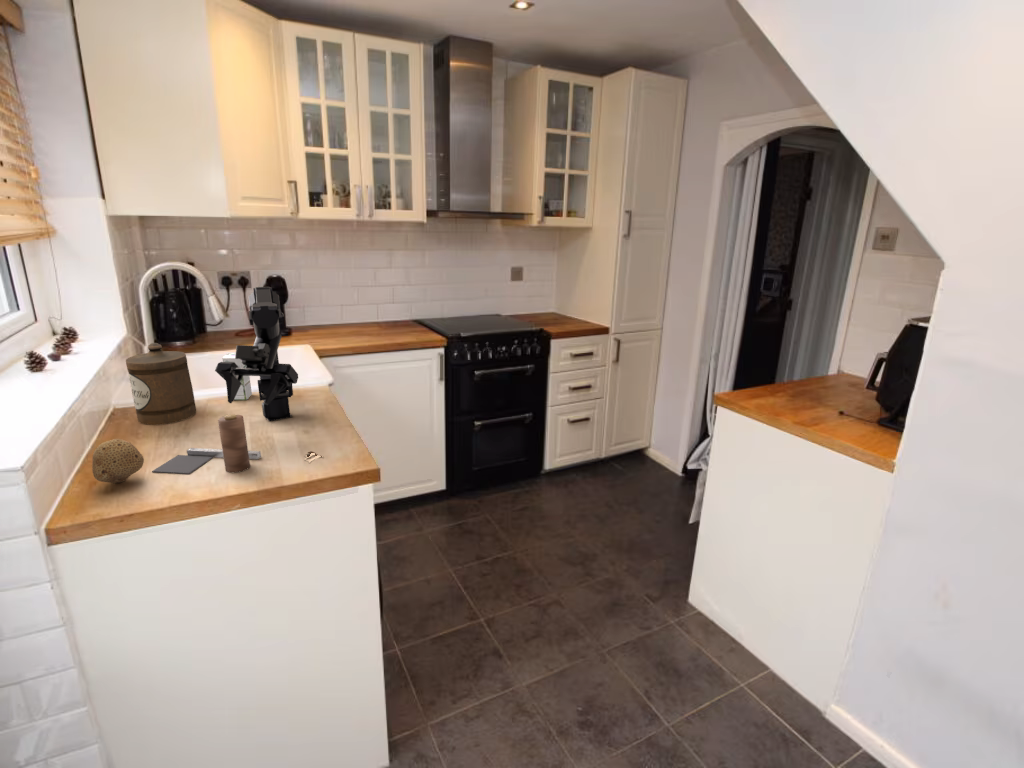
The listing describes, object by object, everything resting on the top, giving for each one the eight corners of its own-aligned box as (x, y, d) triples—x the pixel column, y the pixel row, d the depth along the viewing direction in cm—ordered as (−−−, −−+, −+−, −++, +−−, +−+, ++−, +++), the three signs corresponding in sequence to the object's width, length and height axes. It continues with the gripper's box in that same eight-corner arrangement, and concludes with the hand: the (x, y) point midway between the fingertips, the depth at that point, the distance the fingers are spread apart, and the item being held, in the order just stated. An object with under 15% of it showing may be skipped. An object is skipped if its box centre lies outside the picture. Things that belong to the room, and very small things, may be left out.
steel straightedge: (261, 456, 133) (260, 451, 132) (257, 459, 131) (257, 453, 131) (191, 453, 134) (190, 447, 134) (187, 456, 133) (186, 450, 132)
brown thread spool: (247, 460, 130) (240, 410, 127) (252, 468, 126) (245, 416, 123) (223, 466, 127) (215, 415, 124) (228, 474, 123) (219, 421, 120)
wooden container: (136, 414, 160) (121, 341, 154) (192, 404, 169) (181, 336, 162) (139, 429, 149) (123, 352, 142) (200, 418, 157) (188, 345, 151)
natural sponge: (154, 471, 124) (146, 431, 121) (134, 490, 116) (125, 447, 113) (111, 473, 123) (102, 433, 120) (88, 492, 114) (77, 449, 112)
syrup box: (252, 394, 179) (247, 352, 174) (246, 400, 173) (240, 356, 169) (234, 395, 178) (228, 352, 174) (227, 401, 172) (221, 357, 168)
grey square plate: (213, 457, 132) (213, 456, 132) (189, 474, 123) (189, 473, 123) (178, 456, 132) (178, 454, 132) (152, 472, 124) (152, 471, 124)
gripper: (213, 330, 131) (192, 386, 124) (288, 332, 130) (271, 389, 123) (235, 353, 141) (217, 407, 134) (305, 355, 140) (290, 409, 133)
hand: (247, 403), depth 130 cm, fingers open, 9 cm apart
